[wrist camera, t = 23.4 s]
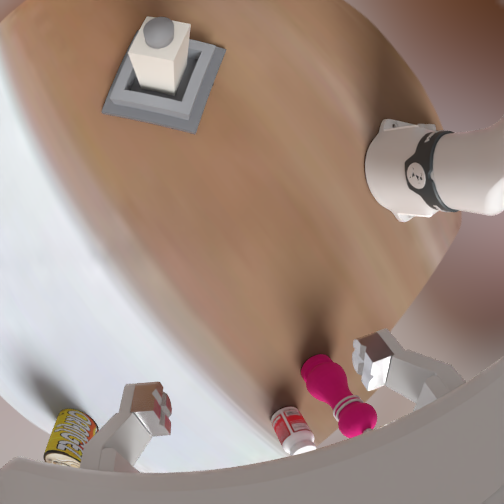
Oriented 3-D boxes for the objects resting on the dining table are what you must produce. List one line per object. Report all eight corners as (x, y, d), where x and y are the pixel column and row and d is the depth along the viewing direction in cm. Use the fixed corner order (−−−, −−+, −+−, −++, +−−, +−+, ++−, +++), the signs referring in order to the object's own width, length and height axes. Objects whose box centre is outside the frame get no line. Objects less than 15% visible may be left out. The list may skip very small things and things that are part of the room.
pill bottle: (276, 430, 53) (293, 467, 42) (265, 414, 51) (283, 454, 40) (302, 417, 53) (323, 452, 43) (294, 400, 52) (316, 438, 41)
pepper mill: (290, 370, 50) (340, 447, 31) (320, 344, 50) (383, 412, 31) (311, 388, 52) (360, 458, 33) (339, 364, 52) (397, 427, 33)
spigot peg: (186, 65, 34) (191, 14, 21) (174, 95, 35) (173, 52, 21) (153, 58, 32) (145, 6, 19) (141, 88, 33) (124, 44, 20)
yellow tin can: (103, 441, 44) (96, 484, 33) (65, 435, 42) (54, 475, 31) (92, 411, 42) (81, 456, 31) (52, 405, 40) (36, 447, 29)
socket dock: (225, 52, 35) (229, 40, 32) (195, 134, 37) (196, 128, 34) (138, 33, 31) (135, 20, 28) (103, 114, 33) (95, 106, 30)
